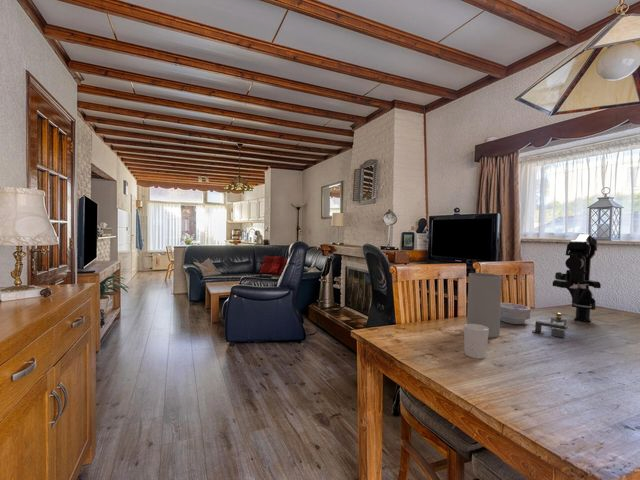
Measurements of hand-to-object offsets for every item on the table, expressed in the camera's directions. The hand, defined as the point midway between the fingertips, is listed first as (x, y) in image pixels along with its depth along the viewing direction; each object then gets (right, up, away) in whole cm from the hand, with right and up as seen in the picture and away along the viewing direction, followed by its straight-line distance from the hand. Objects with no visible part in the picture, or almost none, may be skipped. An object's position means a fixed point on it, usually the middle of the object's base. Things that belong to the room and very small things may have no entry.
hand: (575, 303), depth 152 cm
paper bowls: (-22, -11, +11) cm, 28 cm away
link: (-9, -11, -2) cm, 15 cm away
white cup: (-61, -12, -34) cm, 71 cm away
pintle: (-4, -12, +5) cm, 13 cm away
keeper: (-18, -12, -8) cm, 23 cm away
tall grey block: (-46, -12, -9) cm, 49 cm away
